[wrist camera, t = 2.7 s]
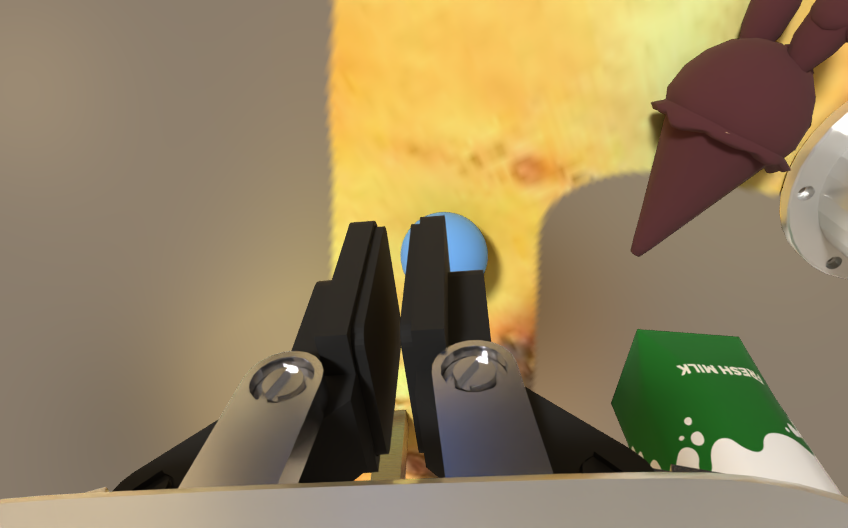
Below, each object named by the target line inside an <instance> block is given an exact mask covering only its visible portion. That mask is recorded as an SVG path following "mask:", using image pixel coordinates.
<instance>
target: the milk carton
mask: <svg viewBox="0 0 848 528" xmlns="http://www.w3.org/2000/svg"><path fill="white" fill-rule="evenodd" d="M611 404H612V407H613V409H614V411H615V414H616V416H617V419H618V421H619V424H620V426H621V428H622V431H623V433H624V436H625V438H626V441H627V443H628V446H629V448H630V449H631V450H633V451H635V452H636V453H637V454H638V455H640V456H641V457H642V458H644V459H645V460H646V461H647V462H648V463H649V464H650V466H651V467H652V468H655V469H661V470H666V471H670V466H671V464H674V465H680V466H686V467H691V468H697V469H702V470H708V471H714V472H719V473H725V474H736V475H748V476H757V477H763V478H769V479H775V480H780V481H786V482H792V483H798V484H802V485H806V486H810V487H813V488H817V489H821V490H824V491H828V492H832V493H836V494H839V495H842V494H841V492H840V491H839V489H838V488H837V486H836V485H835V484H834V482H833V481H832V479H831V478H830V476H829V475H828V474H827V472H826V471H825V469H824V468H823V466H822V465H821V463H820V462H819V461H818V459H817V458H816V456H815V455H814V453H813V452H812V451H811V449H810V448H809V446H808V445H807V443H806V442H805V440H804V439H803V438H802V436H801V435H800V433H799V432H798V430H797V429H796V427H795V426H794V425H793V423H792V422H791V420H790V419H789V417H788V416H787V414H786V413H785V412H784V410H783V409H782V407H781V406H780V404H779V403H778V402H777V400H776V399H775V397H774V395H773V393H772V392H771V390H770V388H769V387H768V385H767V383H766V382H765V380H764V378H763V377H762V375H761V374H760V372H759V370H758V368H757V367H756V365H755V363H754V362H753V360H752V358H751V356H750V355H749V353H748V352H747V350H746V348H745V347H744V345H743V343H742V341H741V340H740V338H739V337H733V336H721V335H707V334H694V333H681V332H668V331H655V330H640V329H637V331H636V334H635V337H634V340H633V343H632V346H631V348H630V351H629V354H628V357H627V360H626V363H625V365H624V368H623V371H622V374H621V377H620V379H619V382H618V385H617V388H616V391H615V394H614V396H613V399H612V402H611Z"/></svg>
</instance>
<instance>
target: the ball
mask: <svg viewBox="0 0 848 528" xmlns="http://www.w3.org/2000/svg"><path fill="white" fill-rule="evenodd" d="M441 215H445V221H446V231H447V241H448V251H449V262H450V272H455V271H469V270H483V273H484V272H485V270H486V266H487V261H488V250H487V245H486V242H485V239H484V237H483V235H482V233H481V232H480V230H479V229H478V227H477V226H476V225H475V224H474V223H472V222H471V221H470V220H469V219H467V218H465V217H463V216H461V215H458V214H455V213H450V212H439V213H434V214H430V215H427V216H425V217H429V216H441ZM415 224H420V220H419V221H417V222H416V223H415ZM410 230H411V228H410V229H409V231H408V232H407V234H406V236H405V238H404V240H403V243H402V248H401V264H402V268H403V271H404V274H406V265H407V256H408V248H409V239H410Z"/></svg>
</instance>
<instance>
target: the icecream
mask: <svg viewBox="0 0 848 528" xmlns="http://www.w3.org/2000/svg"><path fill="white" fill-rule="evenodd" d="M801 2H802V0H751V1H750V4H749V6H748V9H747V12H746V14H745V17H744V19H743V22H742V26H741V32H740V38H739V39H731V40H729V41H726V42H724V43H721V44H719V45H717V46H714V47H712V48H709V49H707V50H705V51H704V52H703V53H701V54H700V55H698V56H697V57H696V58H694V59H693V60H691V61H690V62H689V63H687V64H686V65H685V66H684V67H683V68H682V69H681V71H680V72H679V73H678V74H677V76H676V77H675V78H674V79H673V81H672V82H671V83H670V84H669V86H668V87H667V94H666V99H664V100H660V101H655V102H651V104H652V107H653V109H655V110H658V111H659V112H661V113H663V114H665V118H664V122H663V126H662V130H661V134H660V138H659V142H658V146H657V150H656V154H655V158H654V162H653V166H652V170H651V174H650V178H649V182H648V185H647V189H646V193H645V197H644V201H643V206H642V209H641V213H640V217H639V220H638V224H637V228H636V231H635V235H634V239H633V243H632V247H631V252H632V253H633V254H634V255H636V256H641V255H643V254H644V253H646V252H647V251H649V250H650V249H652V248H653V247H654V246H656V245H657V244H659V243H660V242H661V241H663V240H664V239H665V238H667V237H668V236H670V235H671V234H673V233H674V232H675V231H677V230H678V229H679V228H681V227H682V226H684V225H685V224H686V223H688V222H689V221H691V220H692V219H693V218H695V217H696V216H698V215H699V214H700V213H702V212H703V211H704V210H706V209H707V208H709V207H710V206H711V205H713V204H714V203H716V202H717V201H718V200H720V199H721V198H722V197H724V196H725V195H727V194H728V193H730V192H731V191H732V190H734V189H735V188H737V187H738V186H739V185H741V184H742V183H744V182H745V181H746V180H748V179H749V178H751V177H752V176H753V175H755V174H756V173H758V172H759V171H760V170H762V169H763V168H764V169H765V171H766V172H767V173H774V172H778V171H781V172H786V171H791V169H790V167H789V166H788V164H787V162H786V160H785V159H784V158H785V157H786V156H787V155H789V154H790V153H791V152H793V151H794V150H795V149H796V148H797V146H798V144H799V143H800V141H801V140H802V138H803V136H804V135H805V133H806V132H807V130H808V129H809V128H810V126H811V122H812V115H813V110H814V105H815V98H816V96H815V89H814V79H813V74H814V71H813V68H814V67H816V66H817V65H819V64H820V63H822V62H823V61H824V60H826V59H827V58H829V57H830V56H832V55H833V54H834V53H835V52H836V51H837V50H838V49H839V48H840V47H841V46H842V45H843V44H844V43H845V42H847V43H848V0H816V1H815V3H814V4H813V5H812V7H811V10H810V12H809V14H808V15H807V16H806V18H805V19H804V21H803V22H802V23H801V25H800V26H799V28H798V29H797V30H796V32H795V33H794V35H793V38H792V40H791V42H790V44H785V45H783V44H782V43H778V42H775V41H776V40H777V39H778V38H779V37H780V36H781V34H782V33H783V31H784V30H785V28H786V27H787V25H788V24H789V22H790V21H791V19H792V18H793V16H794V15H795V13H796V12H797V10H798V9H799V7H800V5H801Z"/></svg>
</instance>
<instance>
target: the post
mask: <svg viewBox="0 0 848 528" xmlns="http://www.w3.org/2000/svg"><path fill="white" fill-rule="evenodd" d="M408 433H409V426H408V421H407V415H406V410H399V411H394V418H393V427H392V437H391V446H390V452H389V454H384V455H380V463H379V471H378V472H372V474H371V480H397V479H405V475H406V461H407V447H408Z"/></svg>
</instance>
